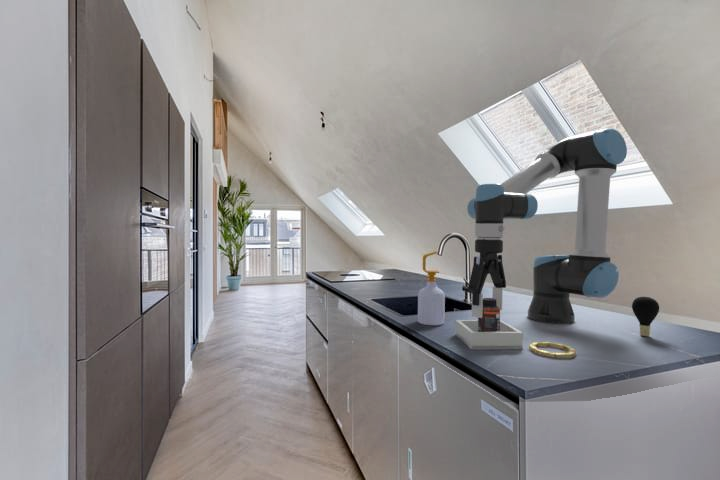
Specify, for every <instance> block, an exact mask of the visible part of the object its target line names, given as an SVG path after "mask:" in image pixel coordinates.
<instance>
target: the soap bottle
mask: <svg viewBox="0 0 720 480" xmlns="http://www.w3.org/2000/svg"><path fill="white" fill-rule="evenodd" d="M436 254H438V251H436V250H435V251H432V252H428V253H425V254H424V255H423V256H422V271H423V272H425V273H426V274H427V276H428V278H426V286H424V287H423V288H421V289H420V290H419V291H418V294H417V322H418V323H419V324H421V325H424V326H432V327H433V326H434V327H435V326H436V327H437V326H442V325H444V324H445V320H446V319H445V313H446V312H445V309H446V306H445V304H446V294H445V292H444V290H442V289H441V288H440V287H438V286H437V279H435V276H436V275H437V274H439V273H440V271H438V270H426V265H427V264H426V260H427V257H429V256H433V255H436Z"/></svg>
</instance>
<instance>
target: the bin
mask: <svg viewBox="0 0 720 480" xmlns="http://www.w3.org/2000/svg"><path fill="white" fill-rule="evenodd" d="M455 336H456V337H457V338H458V339H459V340H461V342H463V344H465V345H466V346H467V347H468V348H469V349H470V350H472V351H475V350H476V351H477V350H480V351H481V350H483V351H484V350H493V351H494V350H524V349H523V347H524V345H523V344H524V333H523V332H522V331H521V330H519V329H518V328H515V327H514V326H512V325H510V324H509V323H507V322H505V321H503V320H501V319H500V332H478V319H462V320H461V319H456V320H455Z"/></svg>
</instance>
